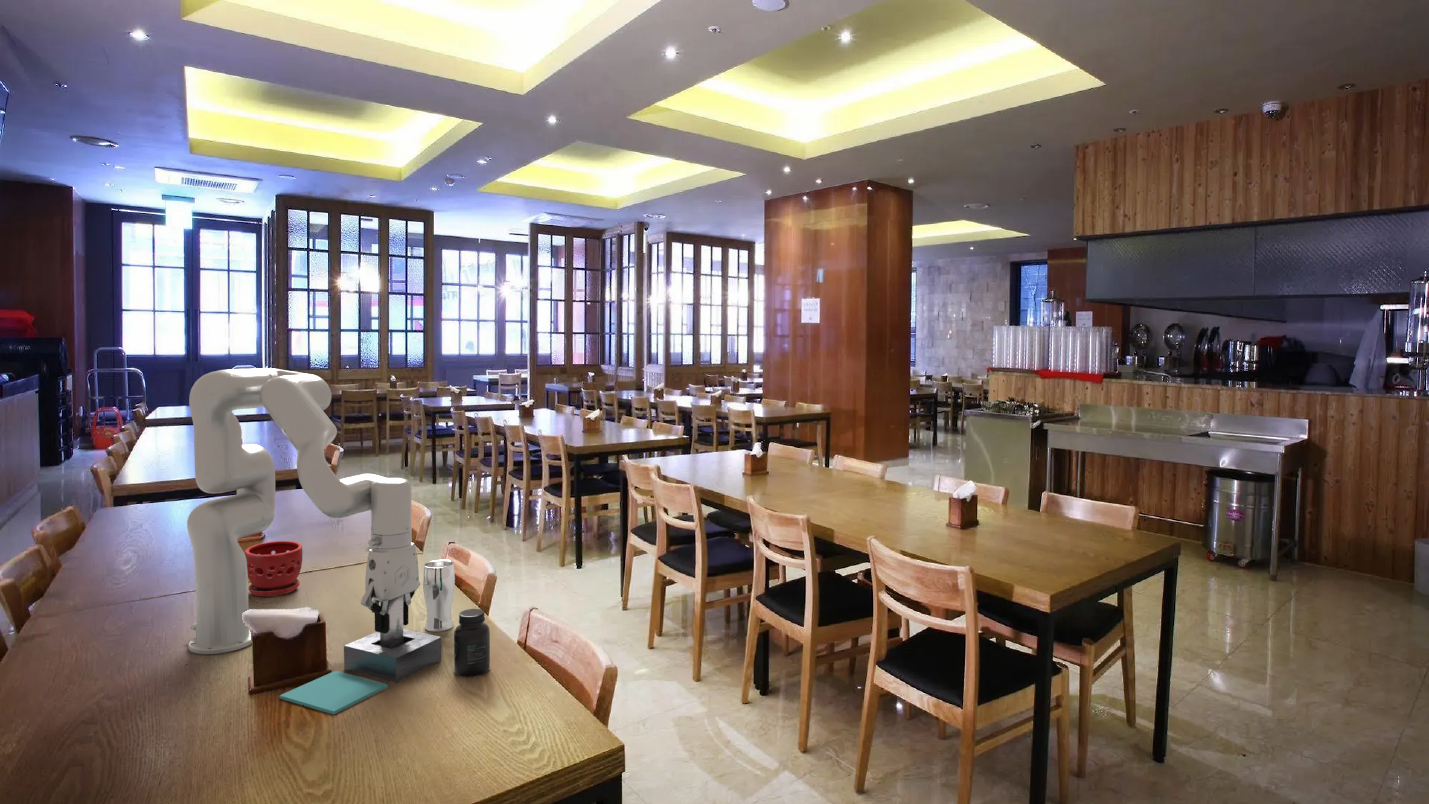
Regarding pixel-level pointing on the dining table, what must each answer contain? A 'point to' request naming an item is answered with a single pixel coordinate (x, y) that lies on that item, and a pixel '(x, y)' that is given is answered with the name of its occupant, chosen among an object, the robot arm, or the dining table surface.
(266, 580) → the plant pot
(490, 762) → the dining table surface
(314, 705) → the teal mat
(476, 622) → the supplement bottle
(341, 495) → the robot arm
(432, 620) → the beer glass
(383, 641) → the steel peg
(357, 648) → the block
